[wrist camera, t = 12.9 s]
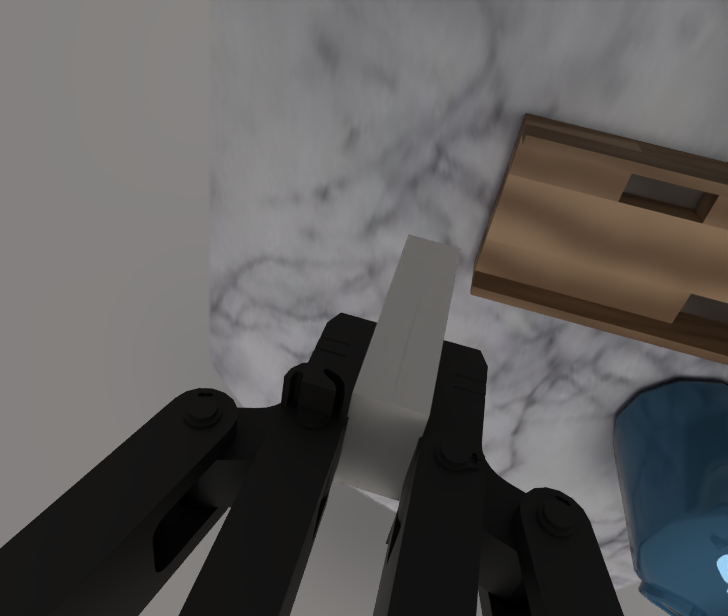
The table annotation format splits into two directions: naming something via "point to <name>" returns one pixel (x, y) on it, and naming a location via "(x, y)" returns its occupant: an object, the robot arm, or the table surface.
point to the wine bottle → (677, 494)
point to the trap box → (611, 237)
